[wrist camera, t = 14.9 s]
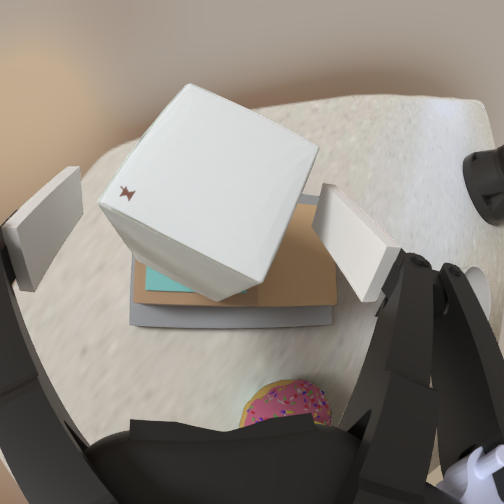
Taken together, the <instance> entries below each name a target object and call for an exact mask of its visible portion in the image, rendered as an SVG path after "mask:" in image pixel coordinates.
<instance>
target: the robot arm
mask: <svg viewBox="0 0 504 504" xmlns="http://www.w3.org/2000/svg"><path fill="white" fill-rule="evenodd" d="M463 174H464V179H465V183H466V186H467V189H468V192H469V194H470V197H471V199H472V201H473V203H474V205H475V207H476V209H477V210H478V212H479V213H480V215H481V216H482V217H483V218H484V219H485V220H486V221H487V222H488V223H490V224H495V223H498V222H501V221H502V220H504V145H503V146H501V147H499V148H497V149H494V150H486V151H479V152H474V153H472V154H470V155H468V156H467V157H465V159H464V161H463ZM82 215H83V204H82V192H81V176H80V166H73V167H67V168H65V169H64V170H63V171H62V172H60V173H59V174H58V175H57V176H56V177H54V178H53V179H52V180H51V181H50V182H48V183H47V184H46V185H45V186H44V187H43V188H42V189H40V190H39V191H38V192H37V193H36V194H35V195H34V196H33V197H32V198H31V199H29V200H28V201H27V202H26V203H25V204H24V205H23V206H22V207H21V208H19V209H18V210H16V211H15V212H14V213H13V214H12V215H11V216H10V218H8V219H7V220H6V221H5V222H4V223H3V224H2V225H1V226H0V448H1V450H2V452H3V455H4V457H5V459H6V461H7V463H8V466H9V468H10V470H11V472H12V474H13V476H14V478H15V479H16V481H17V483H18V485H19V487H20V489H21V490H22V492H23V494H24V496H25V497H26V499H27V501H28V502H29V504H504V359H503V356H502V354H501V351H500V349H499V346H498V343H497V341H496V338H495V336H494V333H493V331H492V329H491V326H490V324H489V322H488V320H487V317H486V315H485V313H484V311H483V309H482V307H481V305H480V303H479V300H478V298H477V296H476V294H475V292H474V291H473V289H472V287H471V285H470V283H469V281H468V279H467V277H466V275H465V274H464V273H463V271H461V269H460V268H459V267H457V266H456V265H452V264H450V263H444V264H443V266H442V268H441V270H440V272H439V271H436V270H432V267H431V264H430V263H429V262H428V261H427V260H426V259H425V258H424V257H422V256H421V255H418V254H415V253H406V252H405V251H404V250H403V249H402V248H401V247H400V246H399V245H398V244H397V243H396V242H395V241H394V240H393V239H392V238H391V237H390V236H389V235H388V234H387V233H386V232H385V231H384V230H383V229H382V228H381V227H380V226H379V225H378V224H377V223H376V222H375V221H374V220H373V219H372V218H371V217H370V216H369V215H367V214H366V213H365V212H364V211H363V210H362V209H361V208H360V207H359V206H358V205H357V204H356V203H355V202H354V201H352V200H351V199H350V198H349V197H348V196H347V195H346V194H345V193H344V192H342V191H341V190H340V189H339V188H338V187H337V186H336V185H332V184H325V183H323V186H322V189H321V193H320V197H319V201H318V204H317V208H316V212H315V215H314V219H313V222H312V226H311V227H312V228H313V230H314V231H315V233H316V234H317V235H318V237H319V238H320V240H321V241H322V243H323V244H324V246H325V247H326V249H327V250H328V252H329V253H330V254H331V256H332V257H333V259H334V260H335V262H336V263H337V265H338V266H339V268H340V269H341V271H342V272H343V274H344V276H345V277H346V279H347V280H348V282H349V283H350V285H351V286H352V288H353V289H354V291H355V293H356V294H357V296H358V297H359V299H360V300H361V302H376V300H377V298H378V296H379V294H380V292H381V290H382V291H383V293H384V294H385V298H384V300H383V302H382V304H381V306H380V308H379V309H378V311H377V313H376V315H375V316H376V317H378V319H377V322H376V326H375V329H374V333H373V336H372V339H371V342H370V346H369V349H368V352H367V355H366V358H365V361H364V364H363V366H362V369H361V372H360V375H359V378H358V380H357V383H356V386H355V388H354V391H353V394H352V396H351V399H350V401H349V404H348V406H347V409H346V411H345V413H344V416H343V418H342V420H341V422H340V424H339V426H338V427H337V428H335V427H332V426H328V425H323V424H318V423H315V422H314V419H313V416H312V413H304V414H298V415H290V416H283V417H274V418H269V419H266V420H263V421H260V422H257V423H254V424H251V425H248V426H245V427H242V428H239V429H235V430H232V431H228V432H221V431H215V430H210V429H205V428H200V427H196V426H191V425H187V424H183V423H178V422H166V421H147V420H134V419H130V430H129V431H123V432H119V433H115V434H112V435H110V436H107V437H104V438H102V439H101V440H99V441H97V442H95V443H94V444H92V445H91V446H90V445H89V443H88V442H87V441H86V439H85V438H84V437H83V435H82V434H81V433H80V431H79V430H78V428H77V427H76V425H75V424H74V422H73V421H72V419H71V417H70V416H69V414H68V412H67V411H66V409H65V407H64V406H63V404H62V402H61V400H60V398H59V397H58V395H57V393H56V391H55V389H54V387H53V386H52V384H51V382H50V380H49V378H48V376H47V374H46V372H45V370H44V368H43V365H42V363H41V361H40V359H39V357H38V355H37V352H36V350H35V348H34V345H33V343H32V341H31V338H30V336H29V333H28V331H27V328H26V325H25V323H24V320H23V317H22V314H21V312H20V309H19V306H18V303H17V300H16V296H15V293H14V290H13V288H12V283H13V282H14V280H15V278H16V281H17V284H18V286H19V289H20V291H28V292H35V291H36V289H37V287H38V285H39V284H40V282H41V280H42V278H43V276H44V275H45V273H46V271H47V269H48V268H49V266H50V264H51V263H52V261H53V259H54V258H55V256H56V255H57V253H58V251H59V250H60V248H61V247H62V245H63V243H64V242H65V240H66V239H67V237H68V236H69V234H70V233H71V231H72V230H73V228H74V227H75V225H76V224H77V222H78V221H79V220H80V218H81V217H82ZM446 311H447V312H446ZM430 374H431V379H432V386H433V388H430V387H429V384H430ZM436 427H437V434H438V449H439V459H440V465H441V471H442V475H443V481H441V482H439V483H438V484H437V485H436V487H434V486H433V485H431V484H429V483H427V482H426V478H427V474H428V470H429V466H430V461H431V456H432V451H433V446H434V440H435V434H436Z"/></svg>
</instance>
